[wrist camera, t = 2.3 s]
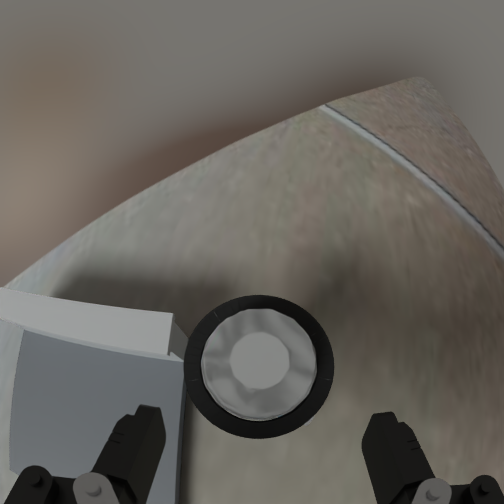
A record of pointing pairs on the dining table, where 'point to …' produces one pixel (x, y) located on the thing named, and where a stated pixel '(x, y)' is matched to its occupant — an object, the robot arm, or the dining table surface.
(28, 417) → the mounting board
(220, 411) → the push button
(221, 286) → the dining table surface
